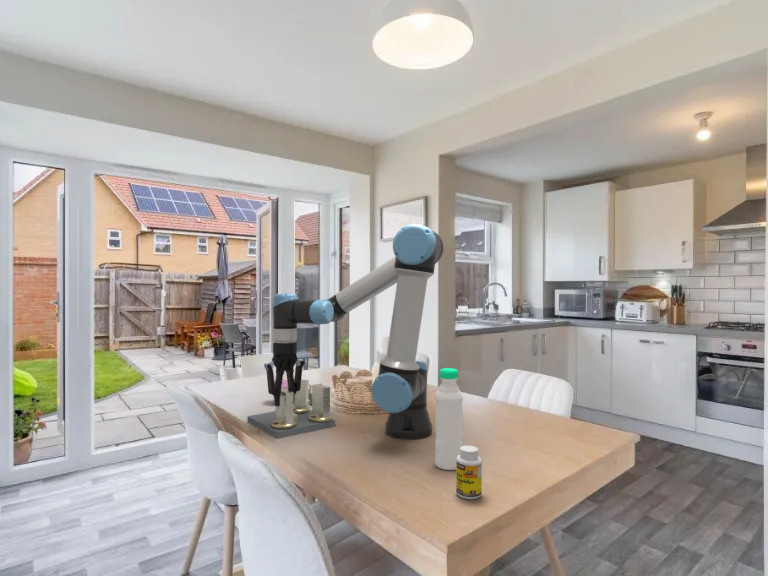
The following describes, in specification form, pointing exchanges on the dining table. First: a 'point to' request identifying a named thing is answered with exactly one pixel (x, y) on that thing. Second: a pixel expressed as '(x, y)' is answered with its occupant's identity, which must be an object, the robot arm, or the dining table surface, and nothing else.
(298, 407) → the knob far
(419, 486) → the dining table surface
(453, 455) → the water bottle
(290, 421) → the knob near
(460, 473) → the supplement bottle
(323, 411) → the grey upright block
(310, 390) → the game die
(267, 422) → the board
